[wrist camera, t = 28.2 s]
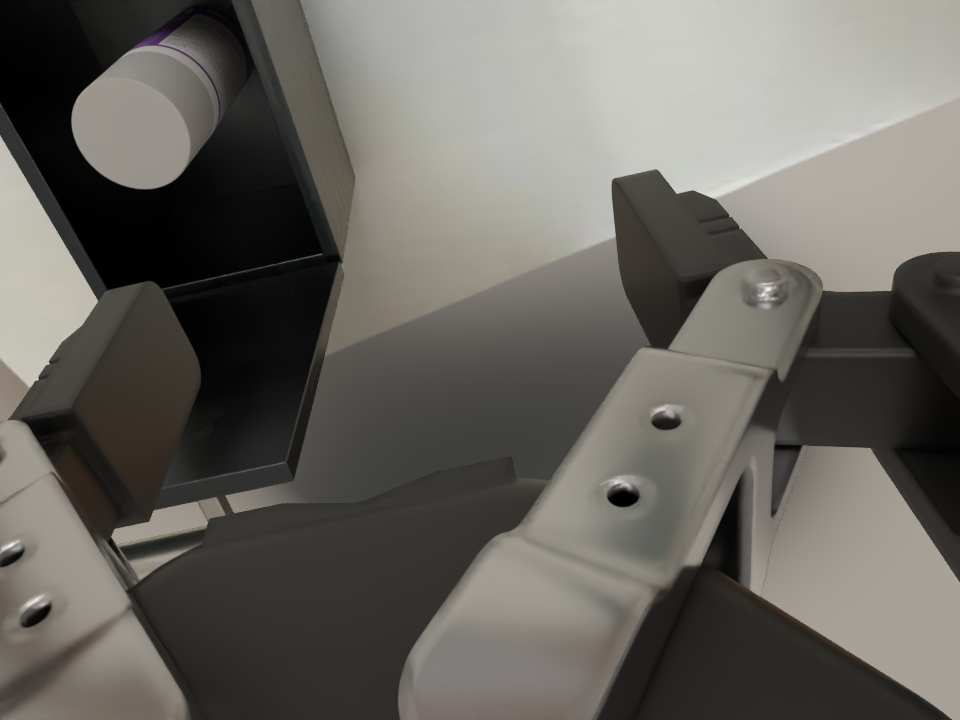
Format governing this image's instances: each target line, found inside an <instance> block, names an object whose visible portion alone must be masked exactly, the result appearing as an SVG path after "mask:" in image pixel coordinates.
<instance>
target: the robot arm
mask: <svg viewBox="0 0 960 720" xmlns="http://www.w3.org/2000/svg"><path fill="white" fill-rule="evenodd" d="M612 201H613V212H614V222H615V232H616V242H617V252H618V262H619V269H620V275H621V279H622V283H623V287H624V290H625V293H626V295H627V298H628V300H629V302H630V304H631V306H632V308H633V310H634V312H635V314H636V316H637V318H638V320H639V322H640V324H641V326H642V328H643V330H644V332H645V334H646V336H647V338H648V340H649V342H650V344H651V346H644V347H642V348H641V349H640V350H639V351H638V352H637V353H636V354H635V356H634V357H633V359H632V360H631V362H630V363H629V364H628V366H627V367H626V369H625V370H624V372H623V373H622V375H621V376H620V378H619V379H618V381H617V382H616V384H615V385H614V387H613V388H612V390H611V391H610V392H609V394H608V396H607V397H606V399H605V400H604V401H603V403H602V404H601V406H600V407H599V409H598V410H597V412H596V413H595V415H594V416H593V418H592V419H591V420H590V422H589V423H588V425H587V427H586V428H585V429H584V431H583V433H582V434H581V435H580V437H579V438H578V440H577V441H576V443H575V444H574V446H573V447H572V449H571V450H570V452H569V453H568V454H567V456H566V457H565V459H564V460H563V462H562V463H561V465H560V466H559V468H558V469H557V471H556V472H555V474H554V475H553V477H552V478H551V479H550V481H548V480H539V479H520V478H517V476H516V471H515V467H514V463H513V459H512V456H511V457H506V458H501V459H496V460H491V461H487V462H481V463H477V464H472V465H467V466H462V467H457V468H453V469H448V470H443V471H438V472H435V473H432V474H430V475H427V476H425V477H422V478H420V479H417V480H415V481H412V482H410V483H407V484H405V485H402V486H400V487H397V488H395V489H392V490H390V491H387V492H385V493H382V494H380V495H378V496H375V497H373V498H370V499H368V500H365V501H362V502H358V503H327V504H326V503H323V504H322V503H316V504H315V503H314V504H312V503H307V504H306V503H305V504H304V503H303V504H301V503H300V504H299V503H297V504H296V503H295V504H294V503H292V504H291V503H287V504H278V505H273V506H268V507H263V508H258V509H254V510H249V511H244V512H239V513H234V514H229V515H224V516H220V517H215V518H210V519H209V521H208V525H207V528H206V532H205V535H204V538H203V542H202V544H201V545H198V546H196V547H194V548H192V549H190V550H188V551H186V552H184V553H182V554H180V555H178V556H176V557H174V558H173V559H171V560H169V561H168V562H166V563H164V564H163V565H161V566H160V567H158V568H157V569H155V570H154V571H153V572H151V573H150V574H148V575H147V576H145V577H144V578H143V579H142V580H140V579H139V577H138V576H137V574H136V573H135V571H134V570H133V568H132V567H131V565H130V563H129V562H128V560H127V559H126V557H125V556H124V554H123V553H122V551H121V550H120V548H119V547H118V546H117V544H116V543H115V542H114V541H113V539H112V538H111V536H112V533H113V531H114V529H116V528H120V527H125V526H130V525H135V524H140V523H145V522H149V521H150V518H151V515H152V513H153V510H154V508H155V505H156V502H157V500H158V497H159V494H160V492H161V489H162V486H163V484H164V481H165V478H166V476H167V473H168V470H169V468H170V465H171V462H172V460H173V457H174V454H175V452H176V449H177V446H178V444H179V441H180V438H181V436H182V433H183V431H184V428H185V425H186V423H187V420H188V417H189V415H190V412H191V409H192V407H193V404H194V401H195V399H196V396H197V393H198V391H199V388H200V384H201V371H200V366H199V362H198V358H197V356H196V353H195V351H194V349H193V347H192V346H191V344H190V342H189V340H188V338H187V336H186V334H185V332H184V330H183V328H182V327H181V325H180V323H179V321H178V319H177V317H176V315H175V313H174V311H173V309H172V308H171V306H170V304H169V302H168V300H167V298H166V296H165V294H164V293H163V291H162V290H161V288H160V287H159V286H158V285H157V284H156V283H154V282H152V281H147V282H142V283H137V284H133V285H128V286H124V287H119V288H115V289H110V290H107V291H106V292H105V293H104V294H103V295H102V297H101V298H100V300H99V301H98V303H97V304H96V306H95V307H94V309H93V310H92V312H91V313H90V315H89V316H88V318H87V319H86V321H85V322H84V324H83V325H82V326H81V327H80V328H79V329H77V330H76V331H75V332H74V333H73V334H71V335H70V336H69V337H68V338H67V339H66V340H64V341H63V342H62V343H61V345H60V346H59V348H58V349H57V350H56V352H55V353H54V355H53V356H52V358H51V359H50V361H49V363H50V365H46V366H45V368H44V369H43V371H42V372H41V374H40V375H39V377H38V378H39V380H38V381H35V382H34V384H33V385H32V387H31V388H30V390H29V391H28V393H27V394H26V396H25V397H24V398H23V400H22V401H21V403H20V404H19V406H18V407H17V409H16V410H15V412H14V413H13V414H12V416H11V417H10V419H9V420H7V421H1V422H0V720H952V719H950V718H949V717H948V716H947V715H946V714H944V713H943V712H942V711H940V710H939V709H938V708H936V707H935V706H933V705H932V704H931V703H929V702H928V701H926V700H925V699H923V698H922V697H920V696H919V695H917V694H916V693H914V692H912V691H911V690H909V689H908V688H906V687H905V686H903V685H901V684H900V683H898V682H897V681H895V680H893V679H892V678H890V677H889V676H887V675H885V674H884V673H882V672H880V671H879V670H877V669H876V668H874V667H872V666H871V665H869V664H868V663H866V662H864V661H863V660H861V659H860V658H858V657H856V656H855V655H853V654H852V653H850V652H848V651H847V650H845V649H844V648H842V647H840V646H839V645H837V644H836V643H834V642H832V641H831V640H829V639H827V638H826V637H824V636H823V635H821V634H819V633H818V632H816V631H815V630H813V629H811V628H810V627H808V626H807V625H805V624H803V623H802V622H800V621H798V620H797V619H795V618H794V617H792V616H791V615H789V614H787V613H786V612H784V611H783V610H781V609H779V608H778V607H776V606H775V605H773V604H771V603H770V602H768V601H767V600H765V599H763V598H762V597H761V596H762V592H763V588H764V584H765V580H766V575H767V570H768V565H769V559H770V554H771V550H772V546H773V542H774V540H775V537H776V534H777V531H778V529H779V526H780V523H781V521H782V518H783V515H784V512H785V510H786V507H787V504H788V501H789V499H790V496H791V494H792V491H793V488H794V485H795V483H796V480H797V478H798V475H799V472H800V470H801V467H802V464H803V462H804V459H805V456H806V453H807V451H808V446H835V447H863V448H871V449H872V451H873V453H874V454H875V456H876V458H877V459H878V461H879V462H880V464H881V465H882V467H883V468H884V470H885V471H886V473H887V474H888V476H889V477H890V479H891V480H892V482H893V483H894V485H895V486H896V488H897V489H898V491H899V492H900V494H901V495H902V496H903V498H904V499H905V501H906V502H907V504H908V505H909V507H910V509H911V510H912V512H913V513H914V515H915V516H916V517H917V519H918V520H919V522H920V523H921V525H922V526H923V528H924V529H925V531H926V532H927V534H928V535H929V537H930V538H931V540H932V541H933V543H934V544H935V546H936V547H937V549H938V550H939V552H940V553H941V555H942V556H943V558H944V559H945V561H946V562H947V564H948V565H949V567H950V568H951V570H952V571H953V573H954V574H955V576H956V577H957V579H958V580H959V582H960V252H937V253H930V254H925V255H921V256H917V257H915V258H912V259H910V260H908V261H906V262H904V263H903V264H901V265H900V266H899V267H898V268H897V269H896V271H895V273H894V278H893V284H892V290H891V291H874V292H832V291H823V285H822V281H821V279H820V277H819V276H818V275H817V274H816V273H815V272H813V271H812V270H811V269H809V268H807V267H805V266H803V265H800V264H797V263H794V262H790V261H784V260H775V259H768V258H767V257H766V256H765V255H764V254H763V253H762V251H761V250H760V249H759V248H758V247H757V246H756V245H755V243H754V242H753V241H752V240H751V239H750V238H749V237H748V235H747V234H746V233H745V232H744V231H743V230H742V229H739V225H738V224H737V223H736V222H735V221H734V220H733V218H732V217H729V214H728V213H727V212H726V210H724V208H723V207H722V206H721V205H720V204H719V203H718V202H717V200H715V199H713V198H710V197H708V196H705V195H703V194H701V193H698V192H696V191H688V192H684V193H679V194H676V193H675V191H674V190H673V189H672V187H671V186H670V185H669V184H668V182H667V181H666V180H665V178H664V177H663V176H662V175H661V173H660V172H659V171H658V170H657V169H655V170H651V171H646V172H642V173H637V174H633V175H628V176H624V177H619V178H615V179H613V180H612Z"/></svg>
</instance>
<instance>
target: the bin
mask: <svg viewBox="0 0 960 720" xmlns="http://www.w3.org/2000/svg"><path fill="white" fill-rule="evenodd" d="M201 4H208V5H214V6H217V7H220V8H223V9H225V10H227V11H229V12H230V13H232V14H233V15H234V16H236V17H237V18H238V21H239V24H240V27H241V29H242V32H243V35H244V38H245V40H246V43H247V46H248V49H249V51H250V54H251V57H252V60H253V62H254V68H253V71H252V73H251V75H250V77H249V79H248V80H247V82H246V83H245V85H244V86H243V88H242V89H241V91H240V93H239V94H238V96H237V97H236V99H235V100H234V102H233V103H232V105H231V106H230V108H229V109H228V111H227V112H226V114H225V115H224V117H223V118H222V120H221V121H220V123H219V124H218V126H217V128H216V129H215V131H214V132H213V134H212V135H211V136H210V138H209V139H208V140H207V141H206V143H205V144H204V145H203V147H202V148H201V149H200V150H199V152H198V153H197V154H196V156H195V157H194V158H193V159H192V161H191V162H190V163H189V165H188V166H187V167H186V169H185V170H184V171H183V172H182V174H181V175H180V176H179V177H178V178H177V179H175V180H174V181H173V182H171V183H169V184H167V185H165V186H162V187H159V188H154V189H135V188H130V187H126V186H123V185H120V184H118V183H116V182H113V181H112V180H110V179H108V178H106V177H105V176H103V175H102V174H101V173H99V172H98V171H97V170H96V169H95V168H94V167H93V166H92V165H91V164H90V163H89V162H88V161H87V160H86V159H85V157H84V156H83V154H82V153H81V151H80V149H79V148H78V146H77V143H76V141H75V138H74V135H73V131H72V111H73V107H74V104H75V102H76V100H77V98H78V97H79V95H80V94H81V93H82V92H83V91H84V90H85V89H86V88H87V87H88V86H89V85H90V84H91V83H93V82H94V81H95V80H96V79H97V78H98V77H99V76H100V75H102V74H103V73H104V72H105V71H106V70H107V69H108V68H110V67H111V66H112V65H113V64H114V63H115V62H116V61H118V60H119V59H120V58H121V57H122V56H123V55H124V54H126V53H127V52H128V51H130V50H131V49H132V48H134V47H135V46H136V45H138V44H139V43H140V42H142V41H143V40H144V39H146V38H147V37H148V36H150V35H151V34H152V33H154V32H155V31H156V30H158V29H159V28H160V27H162V26H163V25H164V24H166V23H167V22H169V21H170V20H171V19H173V18H174V17H175V16H177V15H178V14H179V13H181V12H182V11H184V10H185V9H187V8H189V7H192V6H195V5H201ZM0 135H1V137H2V139H3V141H4V142H5V144H6V146H7V147H8V149H9V151H10V152H11V154H12V156H13V157H14V159H15V161H16V162H17V164H18V166H19V168H20V169H21V171H22V173H23V174H24V176H25V178H26V179H27V181H28V183H29V184H30V186H31V188H32V190H33V191H34V193H35V195H36V196H37V198H38V200H39V201H40V203H41V205H42V206H43V208H44V210H45V211H46V213H47V215H48V217H49V218H50V220H51V222H52V223H53V225H54V227H55V228H56V230H57V232H58V233H59V235H60V237H61V239H62V240H63V242H64V244H65V245H66V247H67V249H68V250H69V252H70V254H71V255H72V257H73V259H74V260H75V262H76V264H77V266H78V267H79V269H80V271H81V272H82V274H83V276H84V277H85V279H86V281H87V282H88V284H89V286H90V288H91V289H92V291H93V293H94V294H95V296H96V298H97V299H98V301H99V300H100V298H101V297H102V295H103V294H104V293H105V292H106V291H107V290H110V289H115V288H119V287H124V286H128V285H133V284H137V283H142V282H147V281H152V282H154V283H156V284H157V285H158V286H159V287H160V288H161V290H162V291H163V293H164V294H165V296H166V298H167V299H171V298H175V297H180V296H184V295H189V294H193V293H198V292H203V291H207V290H212V289H216V288H221V287H225V286H230V285H234V284H239V283H243V282H248V281H252V280H257V279H261V278H266V277H271V276H275V275H280V274H284V273H289V272H293V271H298V270H302V269H307V268H311V267H316V266H320V265H325V264H329V263H334V262H340V263H341V264H342V263H343V256H344V250H345V243H346V236H347V229H348V222H349V216H350V209H351V202H352V195H353V188H354V181H355V175H354V172H353V169H352V166H351V163H350V159H349V156H348V153H347V150H346V147H345V143H344V140H343V137H342V134H341V131H340V127H339V124H338V121H337V118H336V115H335V112H334V108H333V105H332V102H331V99H330V96H329V92H328V89H327V86H326V83H325V80H324V76H323V73H322V70H321V67H320V64H319V60H318V57H317V54H316V51H315V48H314V45H313V41H312V38H311V35H310V32H309V29H308V25H307V22H306V19H305V16H304V13H303V9H302V6H301V3H300V0H0Z"/></svg>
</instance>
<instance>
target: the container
mask: <svg viewBox="0 0 960 720" xmlns="http://www.w3.org/2000/svg"><path fill="white" fill-rule="evenodd" d="M253 68H254V62H253V60H252V57H251V54H250V51H249V49H248V46H247V43H246V40H245V38H244V35H243V32H242V29H241V27H240V24H239V21H238V18H237V17H236V16H234V15H233V14H232V13H230V12H229V11H227V10H225V9H223V8H220V7H217V6H214V5H208V4H201V5H195V6H192V7H189V8H187V9H185V10H184V11H182V12H181V13H179V14H178V15H177V16H175V17H174V18H173V19H171V20H170V21H169V22H167V23H166V24H164V25H163V26H162V27H160V28H159V29H158V30H156V31H155V32H154V33H152V34H151V35H150V36H148V37H147V38H146V39H144V40H143V41H142V42H140V43H139V44H138V45H136V46H135V47H134V48H132V49H131V50H130V51H128V52H127V53H126V54H124V55H123V56H122V57H121V58H120V59H119V60H118V61H116V62H115V63H114V64H113V65H112V66H111V67H110V68H108V69H107V70H106V71H105V72H104V73H103V74H102V75H100V76H99V77H98V78H97V79H96V80H95V81H94V82H93V83H91V84H90V85H89V86H88V87H87V88H86V89H85V90H84V91H83V92H82V93H81V94H80V95H79V97H78V98H77V100H76V102H75V104H74V107H73V111H72V131H73V135H74V138H75V141H76V143H77V146H78V148H79V149H80V151H81V153H82V154H83V156H84V157H85V159H86V160H87V161H88V162H89V163H90V164H91V165H92V166H93V167H94V168H95V169H96V170H97V171H98V172H99V173H101V174H102V175H103V176H105V177H106V178H108V179H110V180H112V181H113V182H116V183H118V184H120V185H123V186H126V187H130V188H135V189H154V188H159V187H162V186H165V185H167V184H169V183H171V182H173V181H174V180H175V179H177V178H178V177H179V176H180V175H181V174H182V172H183V171H184V170H185V169H186V167H187V166H188V165H189V163H190V162H191V161H192V159H193V158H194V157H195V156H196V154H197V153H198V152H199V150H200V149H201V148H202V147H203V145H204V144H205V143H206V141H207V140H208V139H209V138H210V136H211V135H212V134H213V132H214V131H215V129H216V128H217V126H218V124H219V123H220V121H221V120H222V118H223V117H224V115H225V114H226V112H227V111H228V109H229V108H230V106H231V105H232V103H233V102H234V100H235V99H236V97H237V96H238V94H239V93H240V91H241V89H242V88H243V86H244V85H245V83H246V82H247V80H248V79H249V77H250V75H251V73H252V71H253Z"/></svg>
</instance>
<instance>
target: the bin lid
mask: <svg viewBox="0 0 960 720" xmlns="http://www.w3.org/2000/svg"><path fill="white" fill-rule="evenodd" d="M343 278H344V272H343V269H342V266H341V263H340V262H334V263H329V264H325V265H320V266H316V267H311V268H307V269H302V270H298V271H293V272H289V273H284V274H280V275H275V276H271V277H266V278H261V279H257V280H252V281H248V282H243V283H239V284H234V285H230V286H225V287H221V288H216V289H212V290H207V291H203V292H198V293H193V294H189V295H184V296H180V297H175V298H171V299H167V300H168V302H169V304H170V306H171V308H172V309H173V311H174V313H175V315H176V317H177V319H178V321H179V323H180V325H181V327H182V328H183V330H184V332H185V334H186V336H187V338H188V340H189V342H190V344H191V346H192V347H193V349H194V351H195V353H196V356H197V358H198V362H199V366H200V371H201V384H200V388H199V391H198V393H197V396H196V399H195V401H194V404H193V407H192V409H191V412H190V415H189V417H188V420H187V423H186V425H185V428H184V431H183V433H182V436H181V438H180V441H179V444H178V446H177V449H176V452H175V454H174V457H173V460H172V462H171V465H170V468H169V470H168V473H167V476H166V478H165V481H164V484H163V486H162V489H161V492H160V494H159V497H158V500H157V502H156V505H155V508H154V510H157V509H162V508H167V507H171V506H176V505H181V504H186V503H191V502H195V501H197V502H198V504H199V506H200V507H201V509H202V511H203V513H204V515H205V517H206V519H207V521H209V519H210V518H215V517H220V516H224V515H229V514H234V512H233V510H232V508H231V506H230V504H229V502H228V500H227V498H226V497H225V495H230V494H235V493H239V492H244V491H249V490H254V489H258V488H263V487H268V486H273V485H278V484H282V483H287V482H292V481H294V479H295V474H296V470H297V467H298V462H299V458H300V454H301V450H302V446H303V442H304V438H305V434H306V430H307V426H308V421H309V417H310V413H311V409H312V405H313V401H314V397H315V393H316V389H317V384H318V380H319V376H320V372H321V368H322V364H323V360H324V356H325V352H326V347H327V343H328V339H329V335H330V331H331V327H332V323H333V319H334V315H335V310H336V306H337V302H338V298H339V294H340V290H341V286H342V282H343ZM9 419H10V418H9ZM9 419H8V420H9ZM206 528H207V526H203V527H198V528H193V529H188V530H183V531H178V532H173V533H169V534H164V535H159V536H154V537H150V538H144V539H139V540H135V541H130V542H125V543H120V544H117V546H118V547H119V548H120V550H121V551H122V553H123V554H124V556H125V557H126V559H127V560H128V562H129V563H130V565H131V567H132V568H133V570H134V571H135V573H136V574H137V576H138V577H139V579H140V580H142V579H143V578H144V577H145V576H147V575H148V574H150V573H151V572H153V571H154V570H155V569H157V568H158V567H160V566H161V565H163V564H164V563H166V562H168V561H169V560H171V559H173V558H174V557H176V556H178V555H180V554H182V553H184V552H186V551H188V550H190V549H192V548H194V547H196V546H198V545H201V544H202V542H203V538H204V535H205V532H206Z"/></svg>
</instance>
